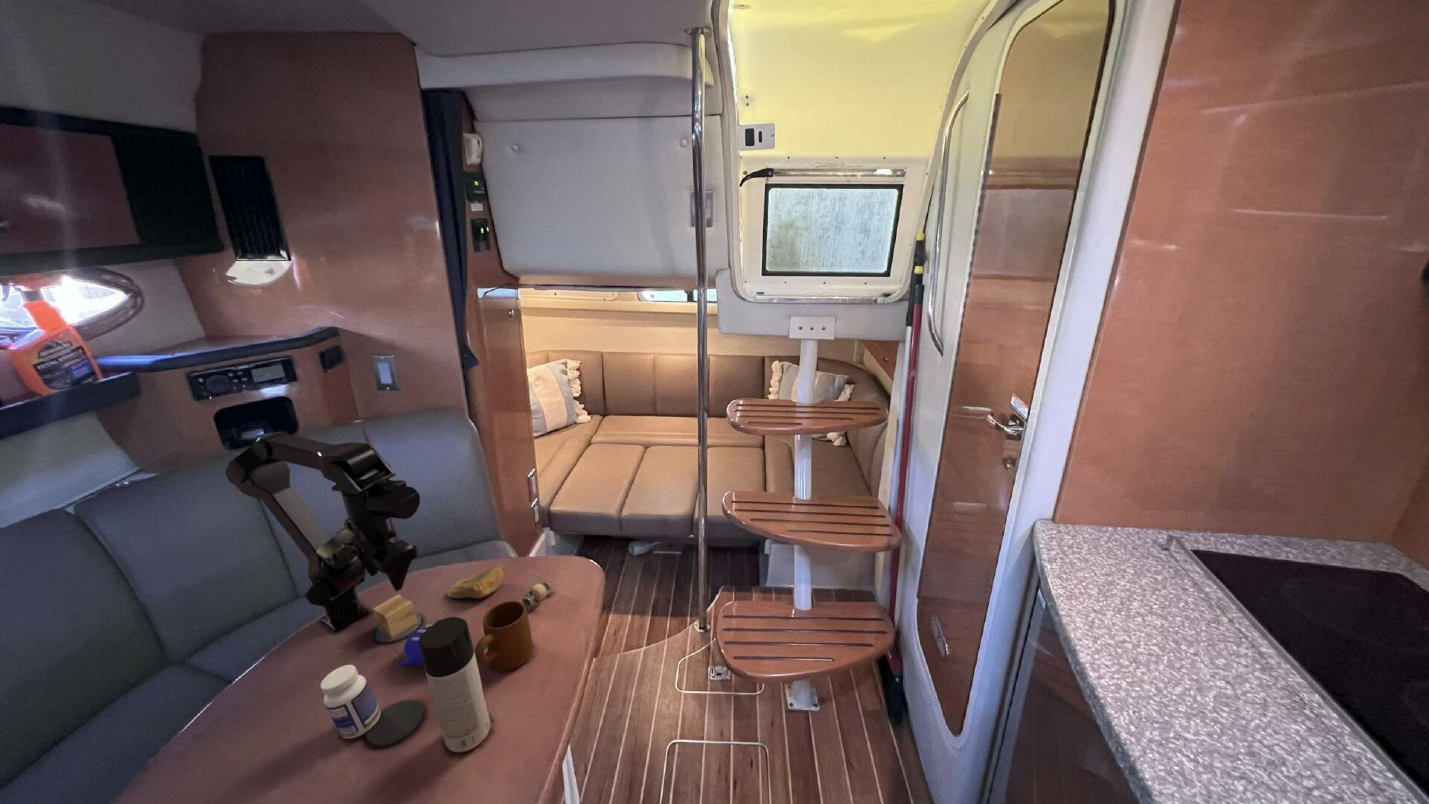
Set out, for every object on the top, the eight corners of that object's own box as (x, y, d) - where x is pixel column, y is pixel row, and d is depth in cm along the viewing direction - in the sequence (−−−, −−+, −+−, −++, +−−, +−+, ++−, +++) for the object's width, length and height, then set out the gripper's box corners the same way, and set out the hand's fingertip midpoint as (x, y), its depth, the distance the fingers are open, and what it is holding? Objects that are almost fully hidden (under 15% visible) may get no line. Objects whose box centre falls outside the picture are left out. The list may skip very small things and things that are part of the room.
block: (378, 629, 105) (372, 608, 104) (404, 614, 109) (398, 593, 108) (391, 638, 103) (385, 617, 101) (417, 622, 107) (411, 602, 105)
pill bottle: (377, 702, 89) (355, 655, 86) (385, 721, 85) (363, 673, 82) (337, 726, 85) (313, 679, 82) (344, 747, 81) (319, 698, 78)
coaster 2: (356, 731, 84) (356, 729, 84) (407, 695, 90) (406, 693, 90) (382, 756, 80) (381, 754, 80) (433, 716, 86) (432, 714, 86)
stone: (470, 589, 109) (440, 589, 114) (480, 608, 111) (450, 607, 115) (502, 562, 117) (472, 562, 121) (511, 580, 118) (481, 580, 123)
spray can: (500, 722, 85) (478, 619, 79) (469, 760, 79) (442, 653, 72) (467, 711, 87) (443, 611, 81) (434, 748, 81) (405, 642, 75)
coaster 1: (367, 633, 105) (367, 631, 105) (407, 609, 111) (407, 607, 111) (388, 648, 101) (388, 646, 101) (429, 622, 107) (428, 620, 107)
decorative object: (383, 638, 94) (433, 609, 103) (385, 667, 95) (435, 635, 104) (424, 657, 90) (472, 625, 99) (426, 687, 91) (474, 652, 100)
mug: (502, 696, 90) (493, 651, 87) (464, 687, 92) (454, 644, 89) (542, 644, 100) (534, 603, 98) (507, 637, 102) (499, 597, 99)
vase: (538, 574, 109) (516, 598, 107) (557, 591, 110) (536, 616, 108) (537, 571, 114) (516, 594, 112) (556, 588, 115) (535, 611, 113)
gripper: (293, 518, 96) (317, 590, 101) (342, 547, 86) (366, 625, 91) (359, 492, 105) (378, 560, 110) (410, 516, 95) (428, 588, 100)
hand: (386, 582), depth 103 cm, fingers open, 9 cm apart
